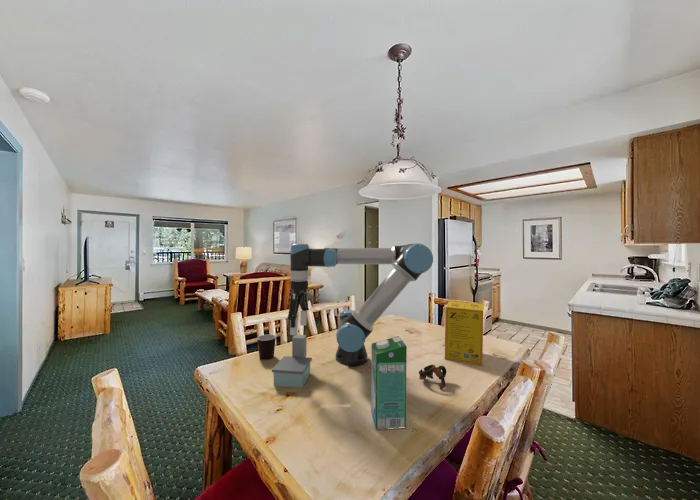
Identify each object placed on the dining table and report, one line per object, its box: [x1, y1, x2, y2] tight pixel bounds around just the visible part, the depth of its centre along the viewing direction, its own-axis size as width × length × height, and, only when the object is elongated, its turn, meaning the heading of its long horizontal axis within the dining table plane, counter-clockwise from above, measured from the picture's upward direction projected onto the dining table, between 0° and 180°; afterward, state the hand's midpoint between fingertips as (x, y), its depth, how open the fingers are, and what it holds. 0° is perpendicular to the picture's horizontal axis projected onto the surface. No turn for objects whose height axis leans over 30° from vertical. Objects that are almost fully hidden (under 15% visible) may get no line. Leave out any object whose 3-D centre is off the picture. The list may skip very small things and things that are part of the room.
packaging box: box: [444, 300, 484, 366], centre depth 139 cm, size 16×16×25 cm
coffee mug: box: [256, 334, 277, 361], centre depth 137 cm, size 12×9×10 cm
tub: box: [273, 363, 311, 389], centre depth 113 cm, size 11×12×6 cm
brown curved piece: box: [418, 364, 447, 391], centre depth 113 cm, size 12×10×8 cm
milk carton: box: [370, 335, 408, 430], centre depth 88 cm, size 9×9×25 cm
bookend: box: [271, 334, 313, 374], centre depth 115 cm, size 12×17×9 cm
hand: (298, 329), depth 121 cm, fingers open, 13 cm apart
